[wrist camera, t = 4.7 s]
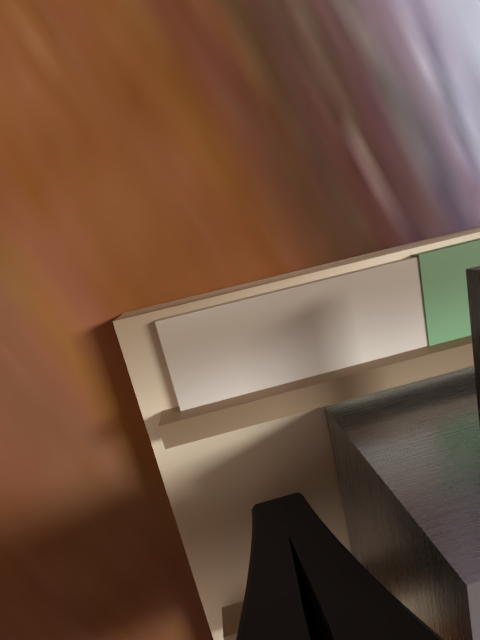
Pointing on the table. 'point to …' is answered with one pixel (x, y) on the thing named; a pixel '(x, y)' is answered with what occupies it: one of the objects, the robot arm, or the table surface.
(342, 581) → the robot arm
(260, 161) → the table surface
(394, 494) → the gauge carriage
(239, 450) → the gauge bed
